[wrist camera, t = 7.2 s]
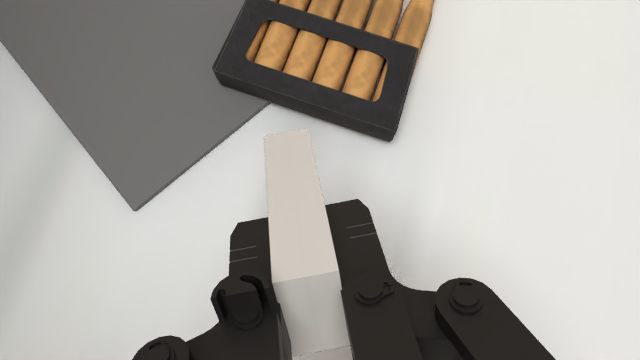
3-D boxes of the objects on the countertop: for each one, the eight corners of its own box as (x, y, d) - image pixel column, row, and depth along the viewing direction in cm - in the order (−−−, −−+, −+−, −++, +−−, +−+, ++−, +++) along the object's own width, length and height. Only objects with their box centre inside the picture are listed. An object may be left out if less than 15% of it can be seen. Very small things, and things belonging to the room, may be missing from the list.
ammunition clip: (210, 69, 27) (286, -106, 29) (217, 83, 29) (288, -84, 31) (396, 132, 26) (458, -54, 28) (391, 142, 28) (450, -34, 30)
